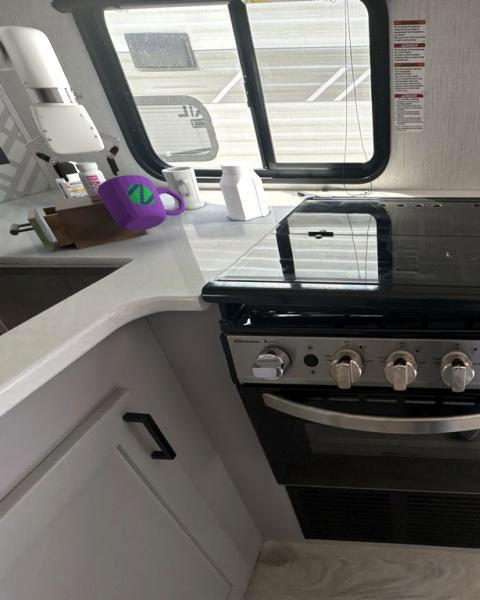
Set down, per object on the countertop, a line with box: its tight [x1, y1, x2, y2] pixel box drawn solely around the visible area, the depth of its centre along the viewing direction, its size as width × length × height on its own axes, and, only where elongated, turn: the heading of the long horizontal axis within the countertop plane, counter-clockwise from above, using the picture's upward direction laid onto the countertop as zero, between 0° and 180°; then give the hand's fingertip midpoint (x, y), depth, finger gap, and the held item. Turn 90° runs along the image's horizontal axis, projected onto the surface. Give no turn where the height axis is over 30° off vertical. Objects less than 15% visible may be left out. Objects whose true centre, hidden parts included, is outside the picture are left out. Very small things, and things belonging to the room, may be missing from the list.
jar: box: [218, 160, 269, 221], centre depth 99 cm, size 12×10×15 cm
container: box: [53, 161, 88, 199], centre depth 117 cm, size 8×8×13 cm
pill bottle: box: [75, 161, 107, 200], centre depth 83 cm, size 5×5×8 cm
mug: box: [98, 174, 186, 231], centre depth 84 cm, size 17×11×10 cm
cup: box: [161, 166, 206, 211], centre depth 108 cm, size 10×9×12 cm
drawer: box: [9, 205, 75, 252], centre depth 82 cm, size 18×11×8 cm, turn 133°
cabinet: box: [53, 195, 148, 250], centre depth 87 cm, size 15×13×10 cm
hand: (92, 178), depth 83 cm, fingers open, 9 cm apart
